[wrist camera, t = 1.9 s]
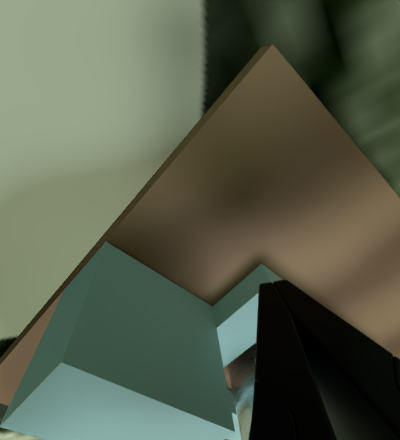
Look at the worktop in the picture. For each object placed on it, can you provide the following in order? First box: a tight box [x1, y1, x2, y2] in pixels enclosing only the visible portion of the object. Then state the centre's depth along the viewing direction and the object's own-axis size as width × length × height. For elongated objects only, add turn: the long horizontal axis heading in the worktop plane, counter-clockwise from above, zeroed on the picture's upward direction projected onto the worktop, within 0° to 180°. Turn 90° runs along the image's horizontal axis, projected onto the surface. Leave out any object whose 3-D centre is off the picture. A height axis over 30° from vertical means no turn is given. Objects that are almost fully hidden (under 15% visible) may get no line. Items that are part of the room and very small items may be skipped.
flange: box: [0, 242, 283, 440], centre depth 12 cm, size 14×9×5 cm, turn 48°
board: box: [0, 44, 400, 440], centre depth 15 cm, size 18×20×1 cm
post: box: [227, 343, 256, 440], centre depth 13 cm, size 3×3×4 cm
